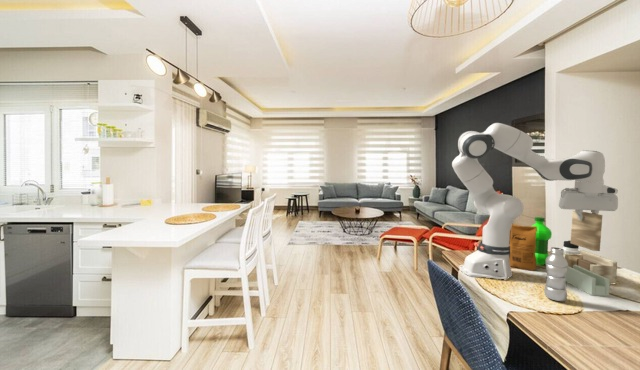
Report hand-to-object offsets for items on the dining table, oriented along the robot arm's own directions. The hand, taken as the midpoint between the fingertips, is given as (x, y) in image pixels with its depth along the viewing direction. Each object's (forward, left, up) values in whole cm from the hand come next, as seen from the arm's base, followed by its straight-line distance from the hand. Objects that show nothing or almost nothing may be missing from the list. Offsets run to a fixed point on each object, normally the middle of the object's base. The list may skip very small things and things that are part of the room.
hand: (586, 220), depth 115 cm
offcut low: (+8, +15, -29) cm, 33 cm away
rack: (+9, +12, -28) cm, 32 cm away
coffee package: (-14, +21, -29) cm, 38 cm away
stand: (-2, -2, -29) cm, 29 cm away
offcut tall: (+8, +9, -29) cm, 31 cm away
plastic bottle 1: (-2, +28, -29) cm, 40 cm away
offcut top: (+8, +15, -24) cm, 29 cm away
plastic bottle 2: (-22, -17, -29) cm, 40 cm away
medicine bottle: (+16, +32, -29) cm, 46 cm away
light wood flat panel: (0, 0, -12) cm, 12 cm away
